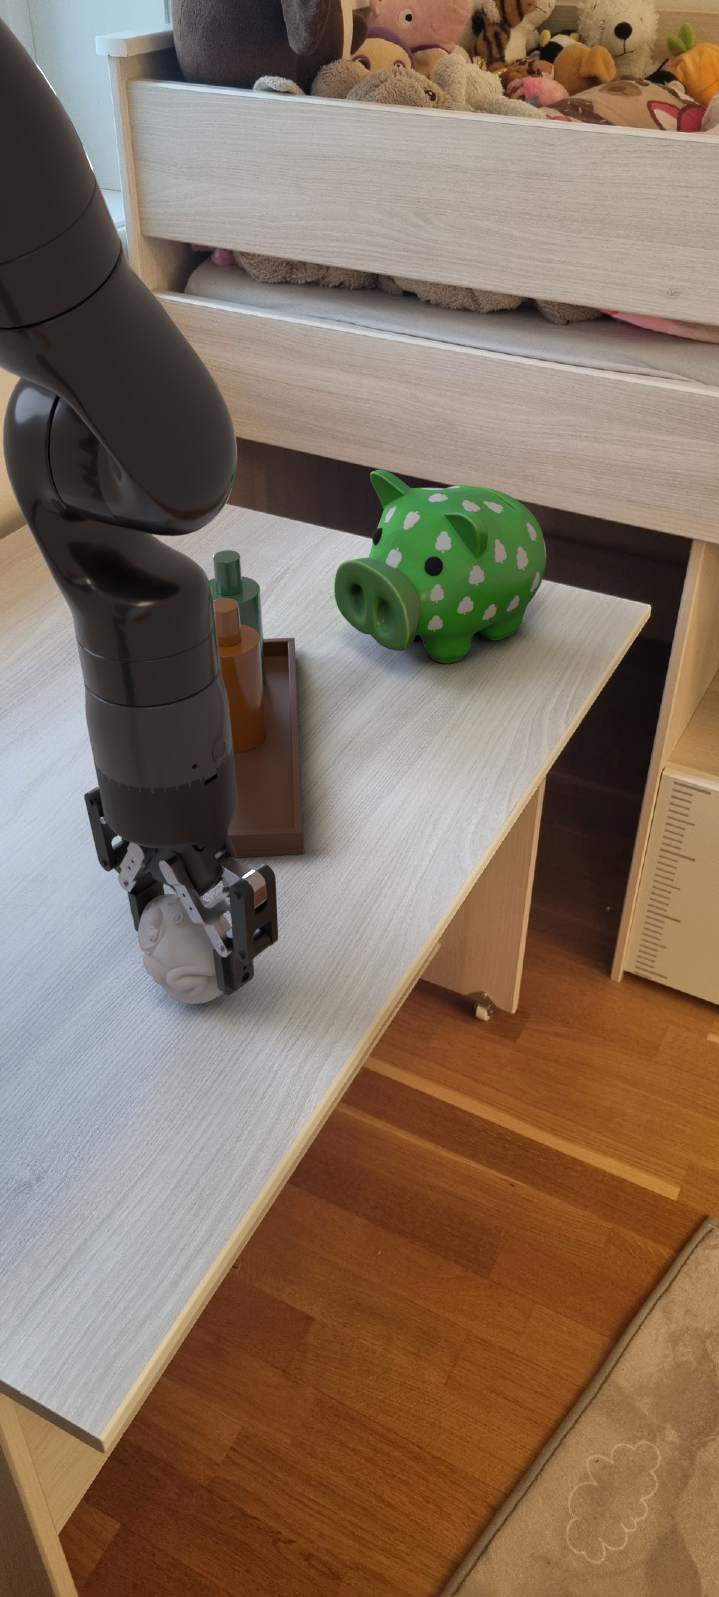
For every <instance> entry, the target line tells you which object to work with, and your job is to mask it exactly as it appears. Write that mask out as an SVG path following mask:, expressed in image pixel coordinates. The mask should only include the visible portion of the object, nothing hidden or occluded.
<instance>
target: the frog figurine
mask: <svg viewBox="0 0 719 1597" xmlns="http://www.w3.org/2000/svg"><path fill="white" fill-rule="evenodd" d="M199 898H200V899H201V901H202V903H203V905H205V904H207V903H208V902H210V900H204V899H203V896H201V897H199ZM220 923H221V925H222V927H223V929H224V931H227V930H228V929H229V928H231V927H232V924H231V923H230V922H229V920H228V918H227V917H226V916H225V914H223V915H222V916H221V917H220ZM137 941H138V946H139V949H140V951H141V952H143V953H144V954H143V956H142V965H143V968H144V969H145V971H146V973H147V975H149V976H150V977H151V978H152V981H153V982H154V983H155V984H157V985H159V986H160V988H161V989H163V990H164V992H166V994H168V995H169V996H170V997H171V998H173V999H174V1000H176V1001H179V1002H181V1003H185V1004H190V1005H200V1004H204V1003H208V1002H210V1001H213V1000H215V999H216V998H218V997H219V996H221V995H222V994H224V993H223V992H222V991H220V990H219V989H218V986H217V978H216V971H215V963H214V955H213V949H215V948H214V946H213V944H212V942H211V940H210V938H209V936H208V934H207V932H206V931H205V929H204V927H203V925H201V924H195V923H193V922H192V920H191V919H190V917H189V915H188V913H187V911H186V909H185V907H184V905H183V903H182V901H181V899H180V897H179V896H178V894H177V893H167V894H166V893H165V895H160V896H158V897H156V898H154V899H152V900H151V901H150V902H149V903H147V905H146V907H145V908H144V911H143V913H142V916H141V920H140V923H139V928H138V932H137Z"/></svg>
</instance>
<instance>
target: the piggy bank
mask: <svg viewBox="0 0 719 1597" xmlns="http://www.w3.org/2000/svg"><path fill="white" fill-rule="evenodd" d="M369 478H370V482H371V485H372V487H373V489H374V492H375V494H376V495H377V497H378V499H379V501H380V504H381V506H382V509H383V512H382V514H381V517H380V520H379V523H378V525H377V528H376V529H375V530H374V531H373V533H372V535H371V539H372V540H371V541H372V544H371V548H370V551H369V554H368V557H359V558H355V559H350V560H345V561H343V562H342V563H341V564H340V565H339V566H338V567H337V569H336V572H335V575H334V576H335V577H334V588H333V589H334V590H333V591H334V592H333V593H334V599H335V604H336V607H337V609H338V610H339V612H340V614H341V615H342V617H343V618H344V619H345V620H346V622H348V623H349V624H350V626H352V627H353V628H354V629H356V631H358V632H360V633H362V634H364V635H369V636H371V637H372V638H373V639H374V641H375V642H376V643H378V644H379V645H380V646H382V647H383V648H385V649H388V650H391V651H395V652H397V651H398V652H399V651H404V650H405V649H407V647H409V645H410V644H412V642H413V641H414V639H415V638H416V637H417V636H419V637H420V639H421V640H422V644H423V648H424V650H425V651H426V653H427V654H428V656H430V658H431V659H432V660H434V661H436V662H437V663H441V664H451V663H455V662H458V661H460V660H463V659H464V658H465V656H466V655H467V654H468V653H469V652H470V650H471V645H472V639H473V637H474V635H476V633H479V634H480V636H481V637H483V638H484V639H487V640H490V641H494V642H498V641H501V640H504V639H506V638H508V637H511V636H512V635H513V634H515V633H516V632H517V630H518V629H519V628H520V626H521V625H522V623H523V620H524V616H525V612H526V610H527V608H528V605H529V604H530V603H531V601H532V600H533V599H534V598H535V596H536V594H537V592H538V591H539V588H540V587H541V584H542V582H543V579H544V575H545V571H546V566H547V549H546V542H545V539H544V538H545V537H544V533H543V531H542V528H541V525H540V524H539V522H538V520H537V518H536V517H535V515H534V514H533V513H532V511H531V510H530V509H528V508H527V507H526V506H525V505H524V504H523V503H522V502H520V501H519V500H517V499H515V497H513V496H511V495H509V494H507V493H506V492H502V491H499V490H496V489H494V488H490V487H483V486H477V485H468V484H456V485H452V486H448V487H444V488H443V487H410V486H409V485H407V484H406V483H405V482H404V481H403V480H401V479H400V478H399V477H398V476H396V475H395V474H393V473H391V472H389V471H387V470H385V469H376V470H373V471H371V472H370V474H369Z"/></svg>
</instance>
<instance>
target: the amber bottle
mask: <svg viewBox="0 0 719 1597" xmlns="http://www.w3.org/2000/svg"><path fill="white" fill-rule="evenodd" d="M214 609H215V620H216V630H217V640H218V649H219V659H220V667H221V673H222V677H223V681H224V684H225V688H226V692H227V696H228V702H229V710H230V720H231V730H232V740H233V751H234V753H237V752H244V751H248V750H251V749H253V748H255V747H257V746H259V745H260V744H261V743H262V742H263V741H264V740H265V738H266V735H267V729H266V715H265V701H264V688H263V674H262V661H261V647H260V636H259V634H258V632H257V631H256V630H254V629H253V628H251V627H249V626H246V625H242V624H240V614H239V604H238V602H237V601H236V600H234V599H230V598H221V599H217V600H215V601H214Z"/></svg>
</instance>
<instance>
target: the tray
mask: <svg viewBox="0 0 719 1597" xmlns="http://www.w3.org/2000/svg"><path fill="white" fill-rule="evenodd" d="M264 652H265V666H266V684H265V686H264V687H263V688H264V701H265V715H266V729H267V735H266V738H265V740H264V741H263V742H262V743H261V744H260V745H259V746H257V747H255V748H253V749H251V750H248V751H244V752H237V753H234V761H235V771H236V781H237V792H238V802H237V807H236V810H235V812H234V815H233V818H232V820H231V823H230V826H229V830H228V834H229V838H230V840H231V843H232V845H233V847H234V849H235V852H236V856H237V858H253V857H273V856H274V857H275V856H290V855H293V856H294V855H304V854H305V847H304V844H305V843H304V824H303V801H302V800H303V799H302V798H303V797H302V779H301V778H302V777H301V776H302V775H301V754H300V752H301V750H300V731H299V729H300V727H299V726H300V725H299V707H298V706H299V704H298V684H297V683H298V682H297V661H296V660H297V659H296V656H297V655H296V639H295V637H280V638H278V637H277V638H275V637H274V638H264Z"/></svg>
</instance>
